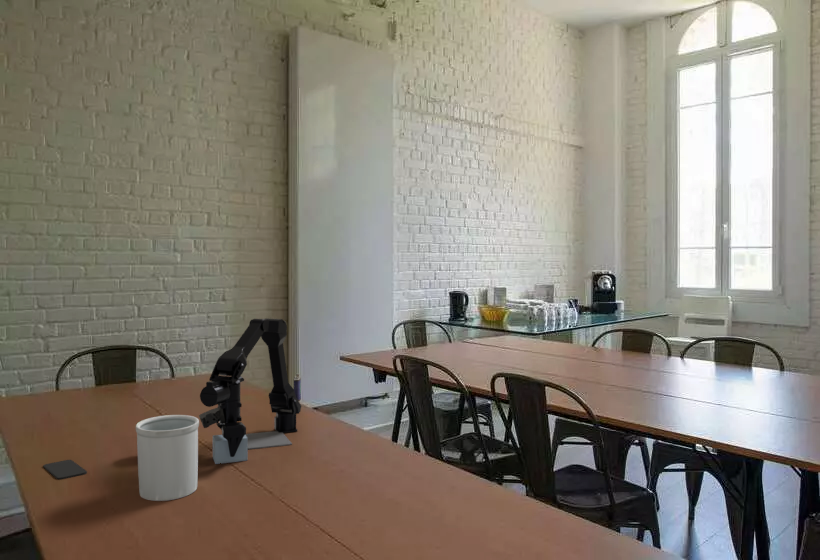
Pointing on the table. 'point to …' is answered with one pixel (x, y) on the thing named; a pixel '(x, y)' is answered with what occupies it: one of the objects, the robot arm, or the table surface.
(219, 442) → the grey rectangular block
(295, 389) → the flask
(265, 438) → the mat
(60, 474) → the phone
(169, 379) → the table surface
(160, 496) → the utensil holder
